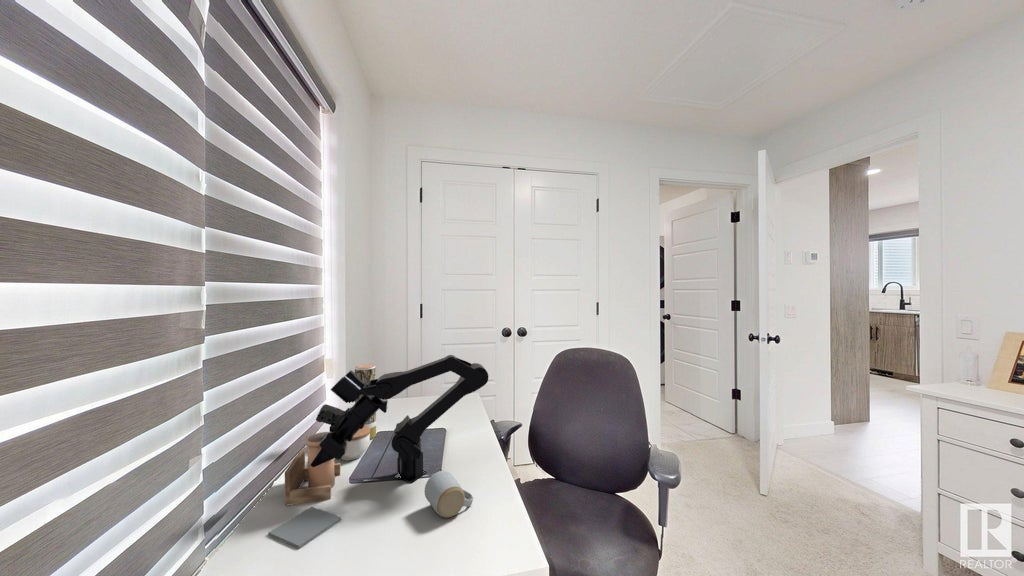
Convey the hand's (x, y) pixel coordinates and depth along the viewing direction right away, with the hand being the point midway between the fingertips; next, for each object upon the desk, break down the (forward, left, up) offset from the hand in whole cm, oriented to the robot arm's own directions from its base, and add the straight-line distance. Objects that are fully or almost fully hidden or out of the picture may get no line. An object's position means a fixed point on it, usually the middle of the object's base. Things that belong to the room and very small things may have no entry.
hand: (315, 460), depth 96 cm
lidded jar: (+6, -17, -8) cm, 20 cm away
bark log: (+13, -29, -7) cm, 33 cm away
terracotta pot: (-1, -1, -7) cm, 7 cm away
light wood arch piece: (0, 0, -7) cm, 7 cm away
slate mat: (-13, +12, -7) cm, 19 cm away
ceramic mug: (-37, -7, -8) cm, 39 cm away
